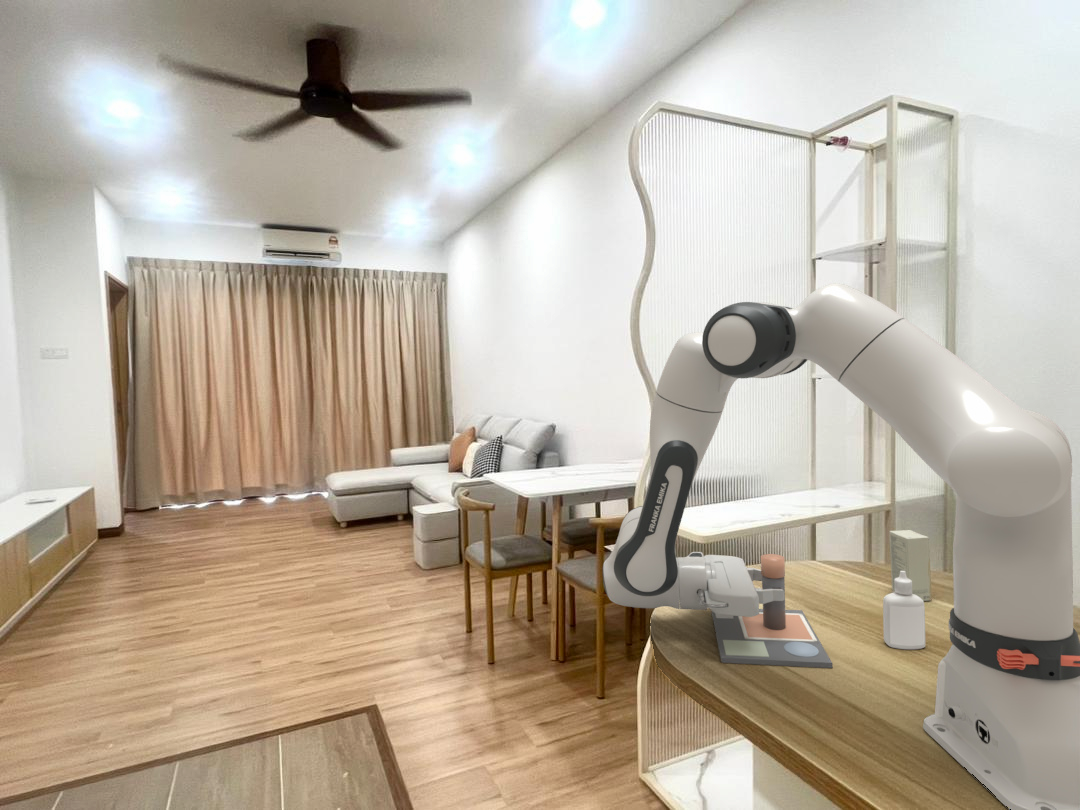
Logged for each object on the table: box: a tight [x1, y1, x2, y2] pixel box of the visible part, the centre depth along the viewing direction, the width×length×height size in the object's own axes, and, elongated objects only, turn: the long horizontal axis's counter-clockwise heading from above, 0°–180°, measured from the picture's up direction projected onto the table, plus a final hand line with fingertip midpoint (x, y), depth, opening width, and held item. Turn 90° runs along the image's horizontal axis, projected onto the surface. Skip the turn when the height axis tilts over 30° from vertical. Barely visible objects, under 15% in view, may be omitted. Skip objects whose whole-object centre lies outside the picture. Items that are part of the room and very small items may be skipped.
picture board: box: [711, 608, 833, 669], centre depth 100 cm, size 20×16×1 cm
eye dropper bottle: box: [882, 571, 926, 650], centre depth 94 cm, size 4×6×12 cm
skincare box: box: [888, 529, 933, 602], centre depth 114 cm, size 6×4×12 cm
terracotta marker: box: [760, 553, 786, 630], centre depth 102 cm, size 4×4×12 cm
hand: (778, 585), depth 102 cm, fingers open, 7 cm apart
